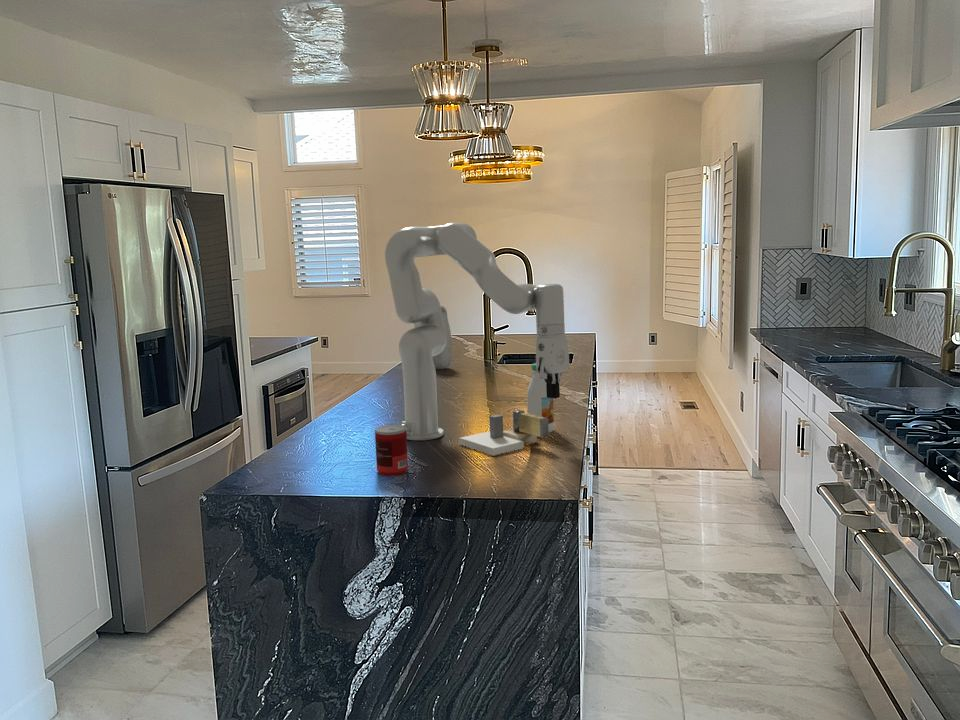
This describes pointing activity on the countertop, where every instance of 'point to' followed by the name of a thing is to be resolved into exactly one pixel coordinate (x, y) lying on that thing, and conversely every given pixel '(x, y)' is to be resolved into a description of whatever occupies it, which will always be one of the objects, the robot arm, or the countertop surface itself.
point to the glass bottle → (445, 356)
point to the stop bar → (530, 424)
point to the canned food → (391, 450)
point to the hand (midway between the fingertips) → (553, 397)
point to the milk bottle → (540, 399)
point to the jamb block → (520, 436)
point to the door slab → (492, 439)
